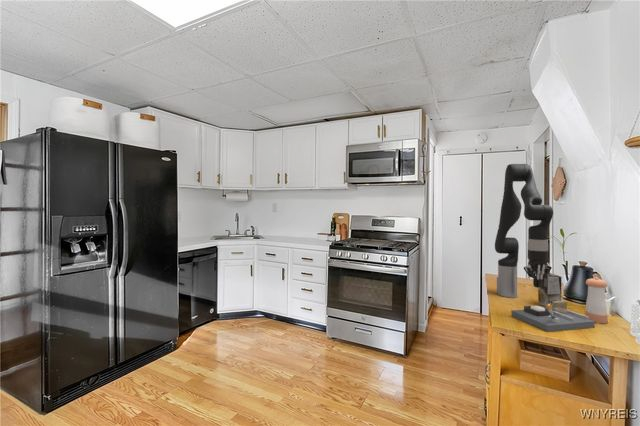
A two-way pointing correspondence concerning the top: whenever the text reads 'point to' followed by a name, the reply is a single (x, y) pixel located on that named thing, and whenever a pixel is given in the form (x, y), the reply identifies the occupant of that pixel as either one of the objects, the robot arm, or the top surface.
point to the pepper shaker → (596, 300)
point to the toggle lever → (550, 310)
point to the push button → (538, 308)
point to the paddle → (559, 306)
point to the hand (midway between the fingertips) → (537, 287)
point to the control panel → (558, 323)
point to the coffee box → (549, 290)
